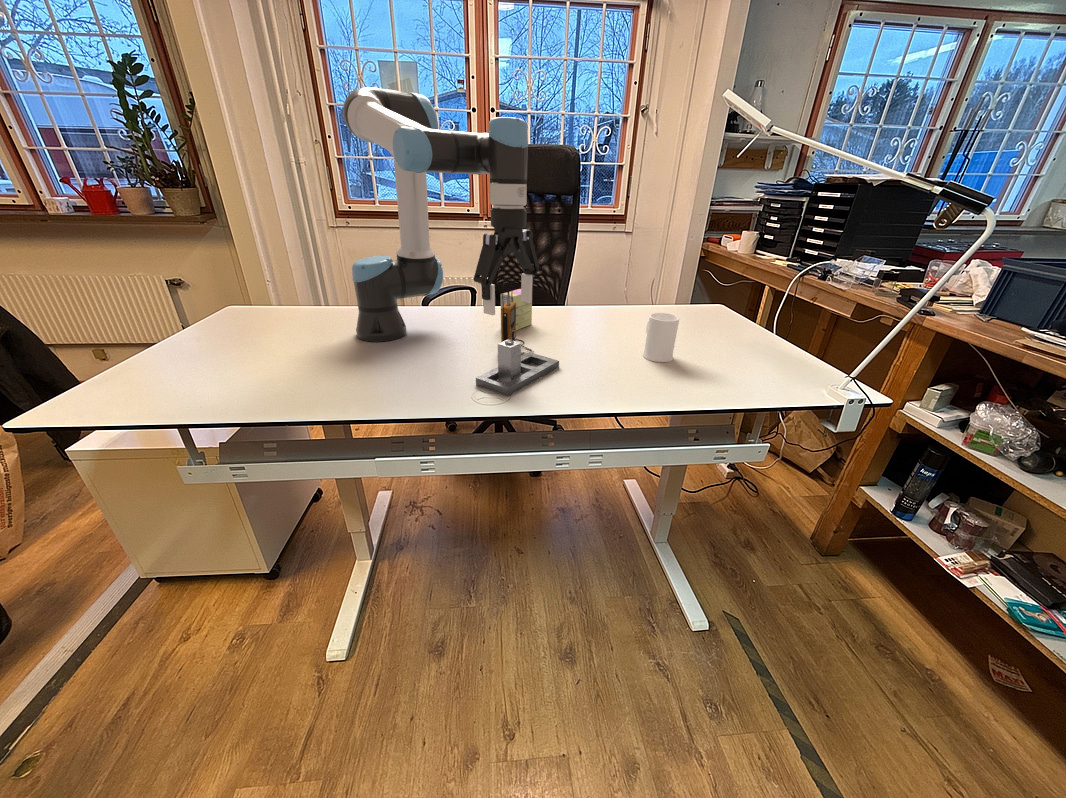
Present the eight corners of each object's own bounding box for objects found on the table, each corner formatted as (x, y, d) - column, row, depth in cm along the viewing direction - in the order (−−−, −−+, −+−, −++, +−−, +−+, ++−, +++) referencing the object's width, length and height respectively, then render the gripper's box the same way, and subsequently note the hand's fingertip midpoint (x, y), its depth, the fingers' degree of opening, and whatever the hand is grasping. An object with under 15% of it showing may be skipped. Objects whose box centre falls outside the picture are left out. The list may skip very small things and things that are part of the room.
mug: (633, 348, 129) (638, 309, 123) (659, 347, 130) (665, 308, 125) (650, 363, 118) (657, 321, 113) (678, 361, 120) (686, 320, 114)
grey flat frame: (476, 385, 103) (475, 377, 102) (529, 358, 119) (529, 352, 118) (507, 396, 98) (507, 389, 97) (558, 367, 114) (559, 360, 113)
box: (519, 321, 150) (519, 288, 145) (531, 324, 148) (532, 290, 142) (500, 328, 143) (499, 293, 137) (513, 332, 140) (513, 296, 135)
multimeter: (531, 359, 119) (533, 287, 110) (497, 355, 121) (496, 285, 112) (541, 341, 132) (543, 276, 123) (510, 339, 134) (510, 274, 124)
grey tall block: (498, 381, 105) (497, 342, 101) (508, 376, 108) (508, 337, 104) (511, 385, 103) (510, 346, 99) (520, 380, 106) (521, 341, 102)
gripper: (481, 210, 77) (484, 323, 86) (556, 206, 95) (552, 299, 104) (452, 208, 80) (458, 316, 90) (529, 204, 98) (528, 294, 108)
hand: (508, 307), depth 97 cm, fingers open, 13 cm apart
